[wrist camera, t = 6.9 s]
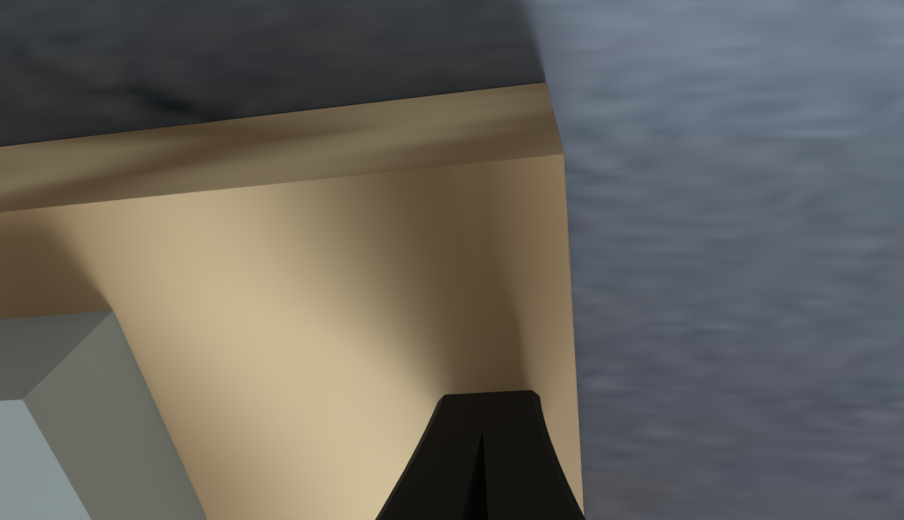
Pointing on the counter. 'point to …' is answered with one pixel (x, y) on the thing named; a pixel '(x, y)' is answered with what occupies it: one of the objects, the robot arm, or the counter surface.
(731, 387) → the counter surface
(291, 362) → the maple bench
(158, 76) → the counter surface
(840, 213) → the counter surface
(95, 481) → the slate tile
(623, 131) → the counter surface
